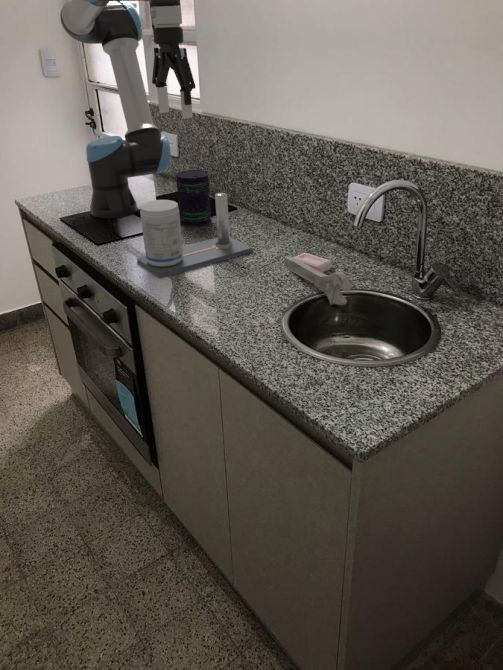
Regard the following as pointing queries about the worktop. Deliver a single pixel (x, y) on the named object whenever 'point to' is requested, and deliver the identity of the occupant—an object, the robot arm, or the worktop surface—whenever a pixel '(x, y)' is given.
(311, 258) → the soap bar
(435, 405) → the worktop surface
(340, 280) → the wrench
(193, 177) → the storage jar
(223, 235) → the steel pin
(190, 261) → the board
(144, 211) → the supplement tub
